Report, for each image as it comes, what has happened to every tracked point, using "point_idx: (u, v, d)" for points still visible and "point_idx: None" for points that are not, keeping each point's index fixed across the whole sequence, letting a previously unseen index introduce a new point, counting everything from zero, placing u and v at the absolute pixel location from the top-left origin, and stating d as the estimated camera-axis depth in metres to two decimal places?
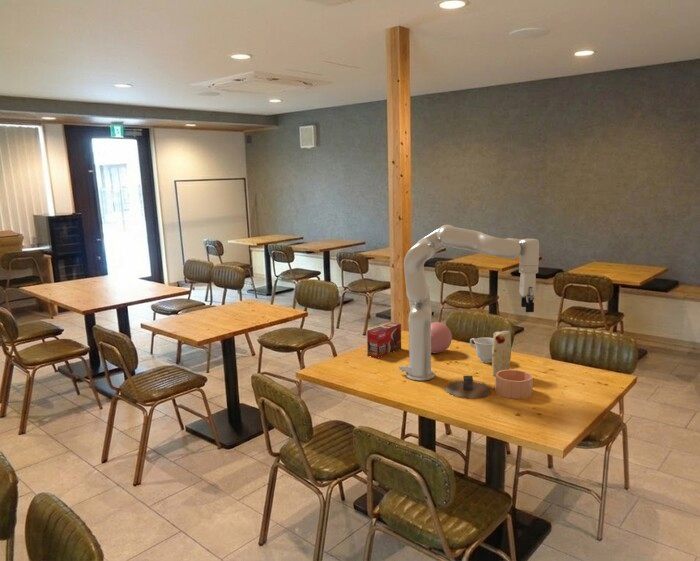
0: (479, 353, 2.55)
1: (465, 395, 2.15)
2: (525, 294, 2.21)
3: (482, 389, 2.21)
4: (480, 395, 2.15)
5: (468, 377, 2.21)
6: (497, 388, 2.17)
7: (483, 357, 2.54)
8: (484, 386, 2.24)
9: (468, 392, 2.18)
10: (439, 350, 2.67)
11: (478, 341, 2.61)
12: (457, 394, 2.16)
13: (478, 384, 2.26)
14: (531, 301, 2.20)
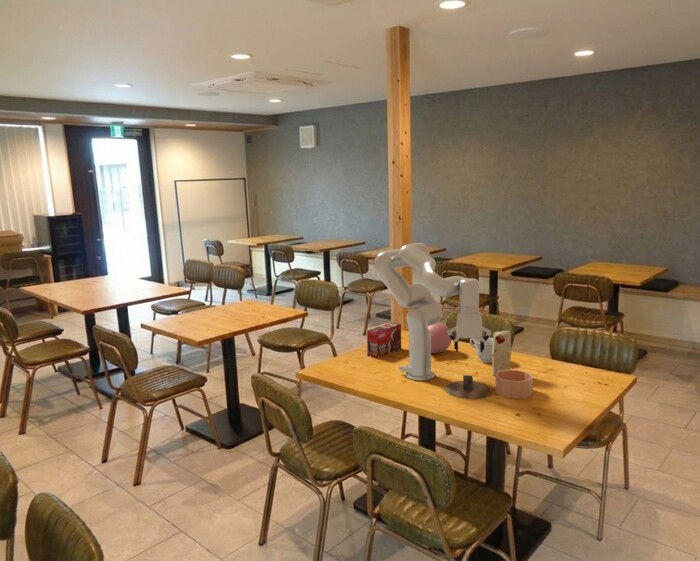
0: (479, 353, 2.55)
1: (465, 395, 2.15)
2: None
3: (482, 389, 2.21)
4: (480, 395, 2.15)
5: (468, 377, 2.21)
6: (497, 388, 2.17)
7: (483, 357, 2.54)
8: (484, 386, 2.24)
9: (468, 392, 2.18)
10: (439, 350, 2.67)
11: (478, 341, 2.61)
12: (457, 394, 2.16)
13: (478, 384, 2.26)
14: None
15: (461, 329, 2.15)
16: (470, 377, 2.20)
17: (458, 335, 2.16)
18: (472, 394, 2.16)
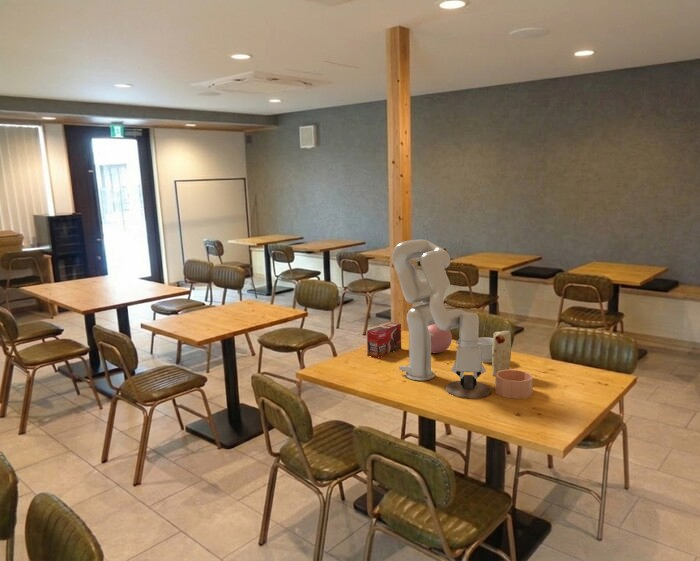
0: None
1: (465, 394, 2.15)
2: (481, 368, 2.17)
3: (482, 388, 2.21)
4: (480, 394, 2.14)
5: (468, 376, 2.20)
6: (497, 388, 2.17)
7: (483, 357, 2.54)
8: (484, 385, 2.24)
9: (468, 391, 2.18)
10: (439, 350, 2.67)
11: (478, 341, 2.61)
12: (458, 394, 2.16)
13: (478, 383, 2.26)
14: None
15: (460, 363, 2.18)
16: (470, 376, 2.20)
17: (457, 368, 2.18)
18: (472, 393, 2.15)
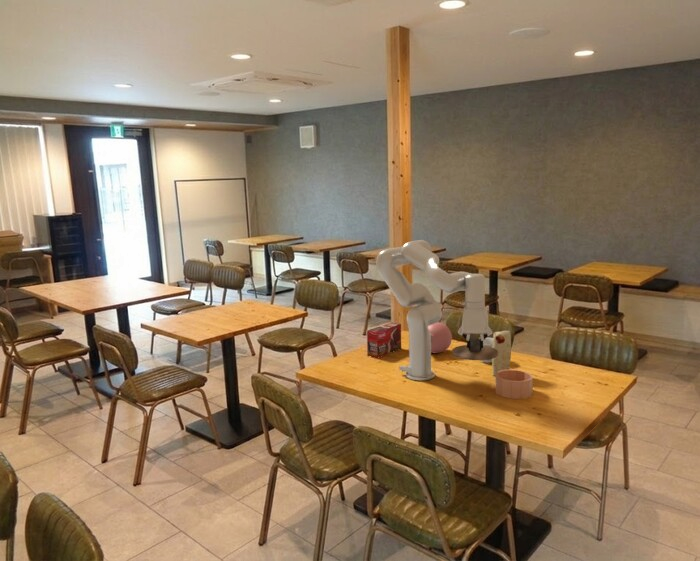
0: None
1: (472, 356, 2.12)
2: (488, 330, 2.14)
3: (489, 351, 2.17)
4: (487, 356, 2.11)
5: (475, 339, 2.17)
6: (497, 388, 2.17)
7: None
8: (491, 348, 2.20)
9: (475, 353, 2.15)
10: (439, 350, 2.67)
11: None
12: (464, 355, 2.12)
13: (485, 347, 2.23)
14: (484, 338, 2.17)
15: (467, 324, 2.15)
16: (477, 339, 2.17)
17: (464, 330, 2.15)
18: (479, 355, 2.12)
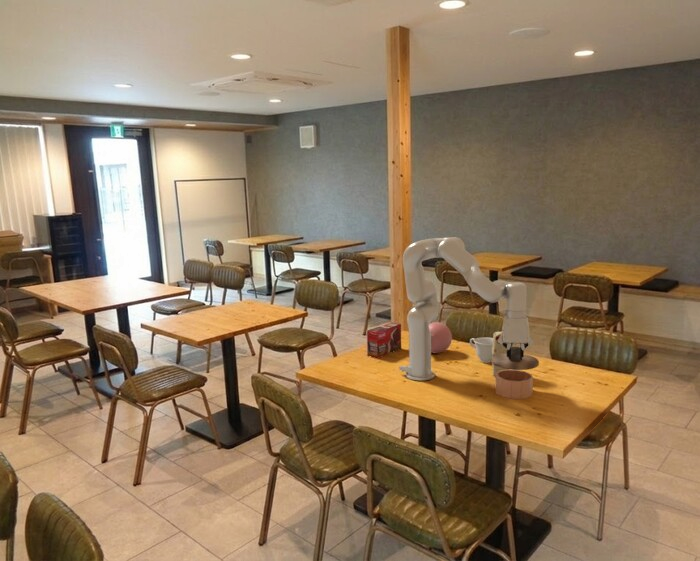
0: (479, 353, 2.55)
1: (514, 365, 2.10)
2: (529, 339, 2.12)
3: (530, 360, 2.15)
4: (529, 365, 2.09)
5: (515, 348, 2.15)
6: (497, 388, 2.17)
7: (483, 357, 2.54)
8: (531, 357, 2.19)
9: (516, 363, 2.13)
10: (439, 350, 2.67)
11: (478, 341, 2.61)
12: (505, 365, 2.10)
13: (524, 356, 2.21)
14: None
15: (508, 334, 2.12)
16: (517, 348, 2.15)
17: (504, 340, 2.13)
18: (520, 365, 2.10)
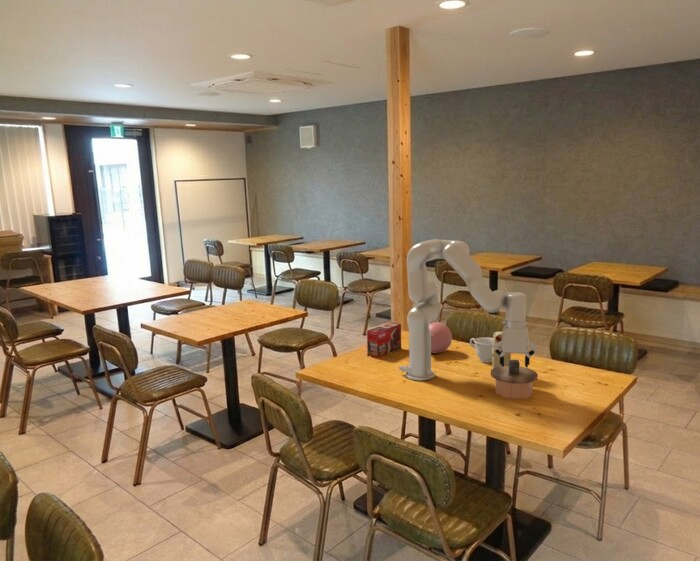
0: (479, 353, 2.55)
1: (512, 379, 2.11)
2: (528, 349, 2.13)
3: (528, 373, 2.16)
4: (528, 379, 2.10)
5: (514, 361, 2.16)
6: (497, 388, 2.17)
7: (483, 357, 2.54)
8: (530, 370, 2.20)
9: (515, 376, 2.14)
10: (439, 350, 2.67)
11: (478, 341, 2.61)
12: (504, 378, 2.12)
13: (523, 368, 2.22)
14: None
15: (507, 344, 2.13)
16: (516, 361, 2.16)
17: (504, 350, 2.14)
18: (519, 378, 2.11)
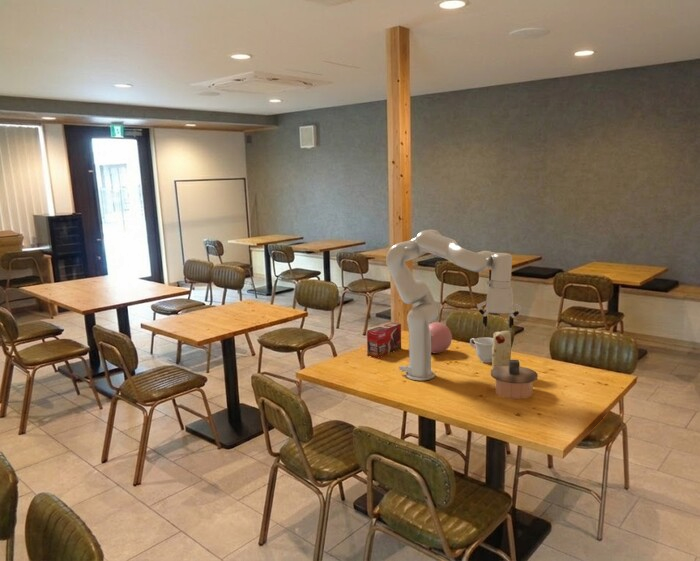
0: (479, 353, 2.55)
1: (512, 379, 2.11)
2: None
3: (528, 373, 2.16)
4: (528, 379, 2.10)
5: (514, 361, 2.16)
6: (497, 388, 2.17)
7: (483, 357, 2.54)
8: (530, 370, 2.20)
9: (515, 376, 2.14)
10: (439, 350, 2.67)
11: (478, 341, 2.61)
12: (504, 378, 2.12)
13: (523, 368, 2.22)
14: None
15: (491, 304, 2.14)
16: (516, 361, 2.16)
17: (488, 309, 2.15)
18: (519, 378, 2.11)
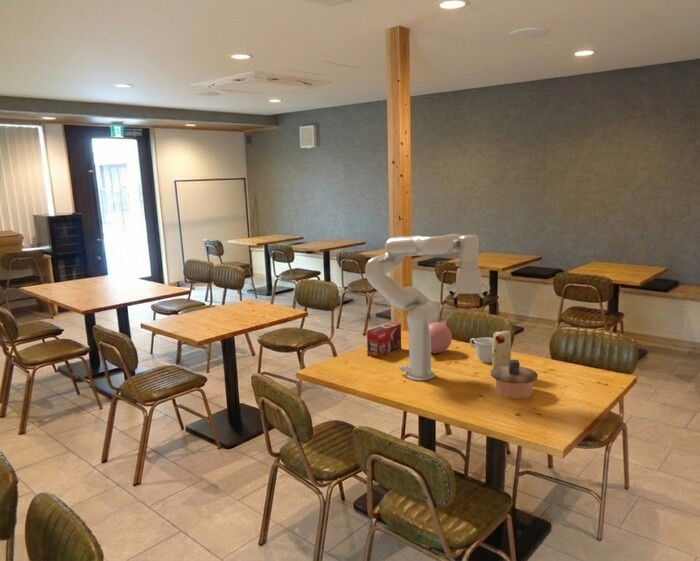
0: (479, 353, 2.55)
1: (512, 379, 2.11)
2: None
3: (528, 373, 2.16)
4: (528, 379, 2.10)
5: (514, 361, 2.16)
6: (497, 388, 2.17)
7: (483, 357, 2.54)
8: (530, 370, 2.20)
9: (515, 376, 2.14)
10: (439, 350, 2.67)
11: (478, 341, 2.61)
12: (504, 378, 2.12)
13: (523, 368, 2.22)
14: (484, 295, 2.21)
15: (460, 284, 2.19)
16: (516, 361, 2.16)
17: (457, 290, 2.20)
18: (519, 378, 2.11)
